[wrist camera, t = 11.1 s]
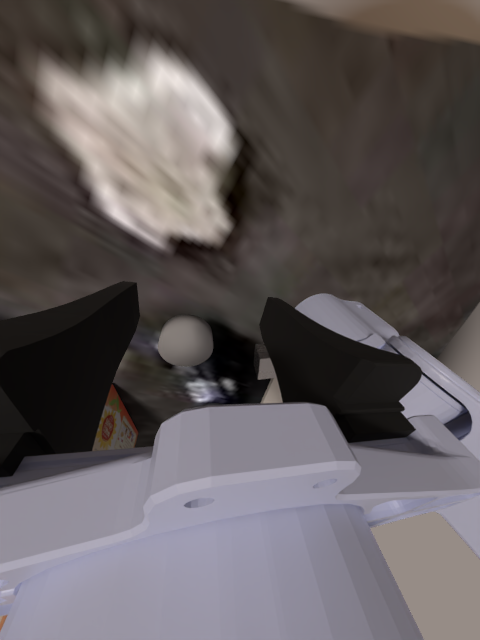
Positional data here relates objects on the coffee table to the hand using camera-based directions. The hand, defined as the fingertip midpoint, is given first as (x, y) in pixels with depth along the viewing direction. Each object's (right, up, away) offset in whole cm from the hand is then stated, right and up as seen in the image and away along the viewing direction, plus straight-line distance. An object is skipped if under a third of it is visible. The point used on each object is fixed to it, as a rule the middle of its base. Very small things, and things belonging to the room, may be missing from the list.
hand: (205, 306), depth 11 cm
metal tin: (+6, -5, +17) cm, 19 cm away
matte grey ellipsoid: (-4, -3, +13) cm, 14 cm away
